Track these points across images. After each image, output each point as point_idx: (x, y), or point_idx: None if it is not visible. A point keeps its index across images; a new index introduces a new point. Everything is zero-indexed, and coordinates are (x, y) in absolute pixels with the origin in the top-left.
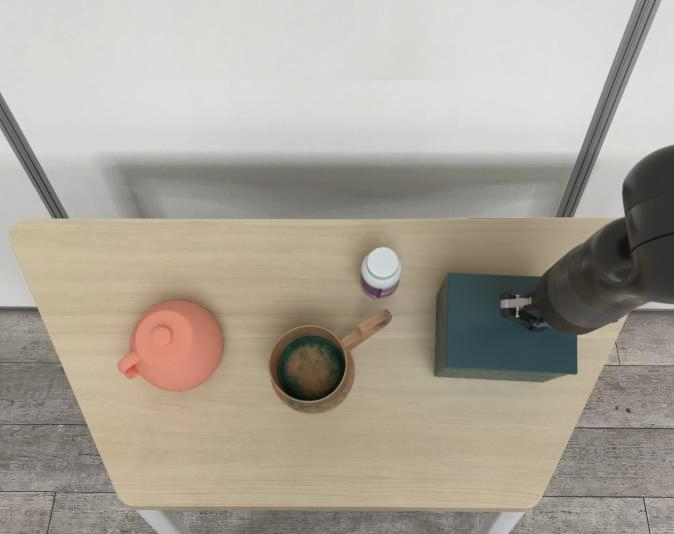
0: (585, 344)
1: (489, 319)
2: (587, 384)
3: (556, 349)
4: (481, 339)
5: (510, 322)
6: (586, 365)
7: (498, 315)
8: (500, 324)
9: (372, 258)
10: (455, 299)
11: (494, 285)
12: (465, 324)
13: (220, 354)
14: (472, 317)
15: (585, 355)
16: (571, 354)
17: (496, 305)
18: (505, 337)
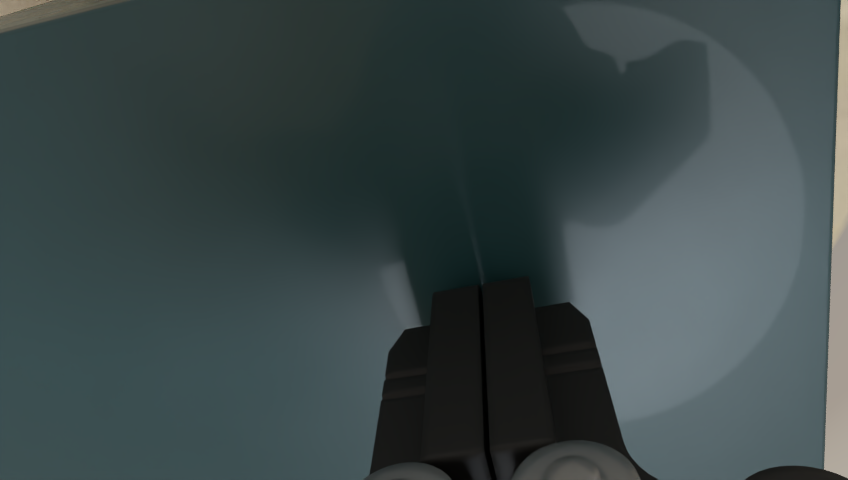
0: (842, 52)
1: (178, 363)
2: (842, 225)
3: (676, 437)
4: (184, 476)
5: (324, 350)
6: (842, 148)
7: (227, 324)
8: (263, 375)
9: None
10: None
11: (99, 119)
12: (49, 418)
13: None
14: (67, 374)
15: (839, 105)
16: (783, 448)
17: (184, 264)
18: (323, 439)
